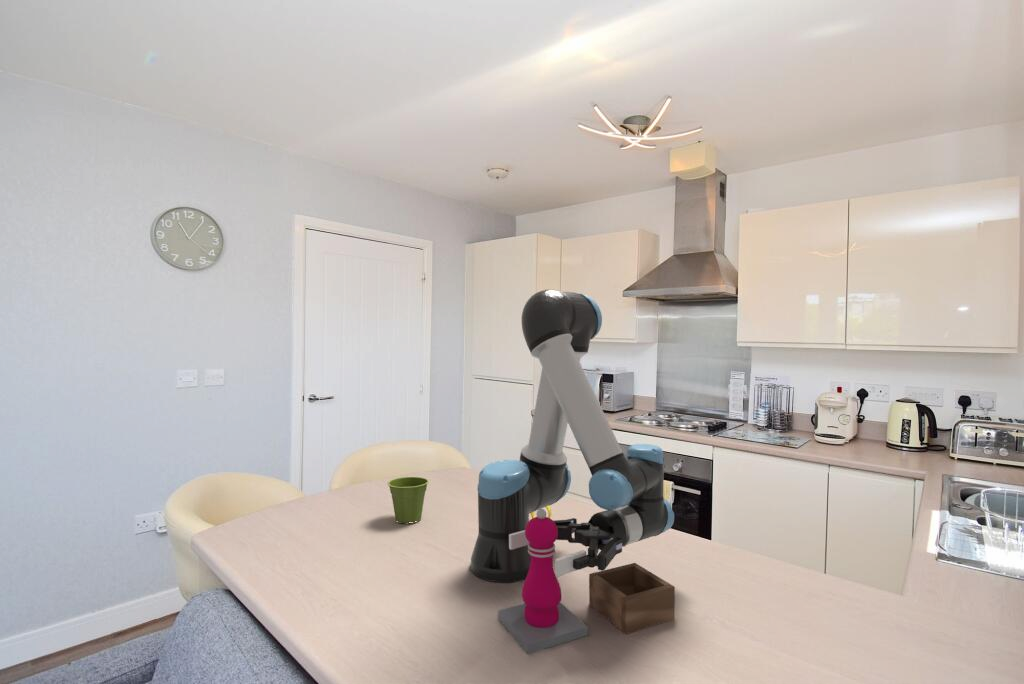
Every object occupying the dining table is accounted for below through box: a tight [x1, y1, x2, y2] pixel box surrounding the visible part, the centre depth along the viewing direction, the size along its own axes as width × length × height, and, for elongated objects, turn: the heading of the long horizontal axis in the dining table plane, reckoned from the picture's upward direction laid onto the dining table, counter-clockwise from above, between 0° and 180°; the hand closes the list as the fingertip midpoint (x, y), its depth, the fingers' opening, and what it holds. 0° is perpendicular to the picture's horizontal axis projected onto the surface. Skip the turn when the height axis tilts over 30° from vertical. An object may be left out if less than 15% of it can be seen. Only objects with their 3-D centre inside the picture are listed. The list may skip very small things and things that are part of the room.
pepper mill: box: [521, 508, 562, 628], centre depth 93 cm, size 7×7×20 cm
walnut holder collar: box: [588, 562, 676, 635], centre depth 98 cm, size 11×11×6 cm
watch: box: [529, 505, 552, 519], centre depth 147 cm, size 6×3×6 cm, turn 65°
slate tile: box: [497, 602, 589, 655], centre depth 93 cm, size 12×12×2 cm
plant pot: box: [386, 476, 430, 524], centre depth 148 cm, size 12×12×11 cm
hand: (531, 554), depth 91 cm, fingers open, 13 cm apart
